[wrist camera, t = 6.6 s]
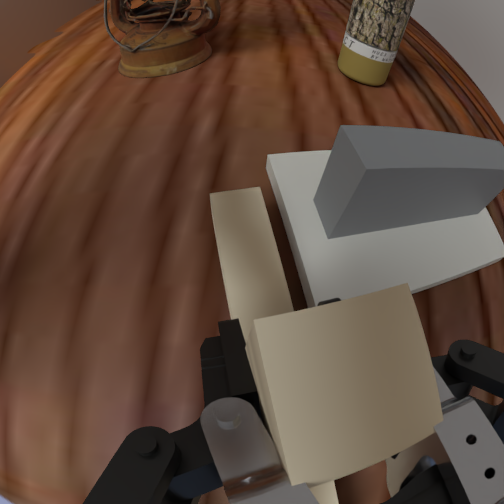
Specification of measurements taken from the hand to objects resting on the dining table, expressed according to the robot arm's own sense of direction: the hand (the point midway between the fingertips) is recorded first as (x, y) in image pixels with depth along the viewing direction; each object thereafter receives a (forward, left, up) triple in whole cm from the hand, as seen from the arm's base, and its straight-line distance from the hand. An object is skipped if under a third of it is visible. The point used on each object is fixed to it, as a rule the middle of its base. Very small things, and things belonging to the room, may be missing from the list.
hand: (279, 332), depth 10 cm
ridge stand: (+13, +7, -6) cm, 16 cm away
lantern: (-5, +37, -6) cm, 38 cm away
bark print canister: (+20, +29, -6) cm, 36 cm away
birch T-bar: (0, -2, -5) cm, 6 cm away
